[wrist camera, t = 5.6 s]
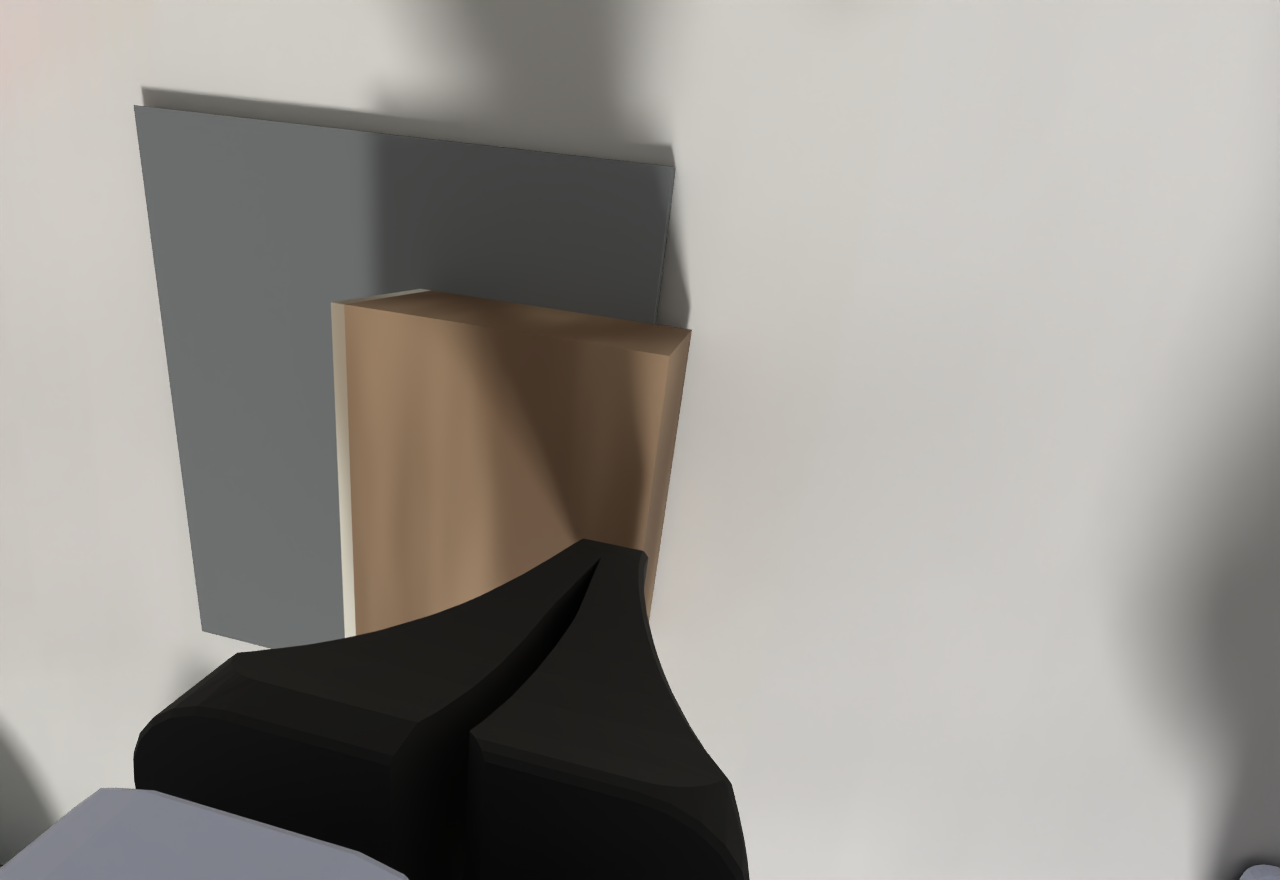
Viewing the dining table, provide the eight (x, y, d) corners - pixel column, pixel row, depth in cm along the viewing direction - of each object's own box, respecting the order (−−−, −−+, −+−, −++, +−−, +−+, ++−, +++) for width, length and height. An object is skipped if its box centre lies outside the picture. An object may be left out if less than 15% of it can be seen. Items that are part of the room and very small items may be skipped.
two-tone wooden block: (669, 356, 12) (330, 302, 13) (617, 734, 15) (345, 665, 16) (691, 329, 15) (420, 288, 16) (645, 643, 18) (419, 591, 19)
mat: (675, 168, 14) (673, 166, 14) (604, 722, 20) (601, 731, 19) (148, 108, 16) (133, 105, 16) (211, 624, 22) (202, 630, 21)
